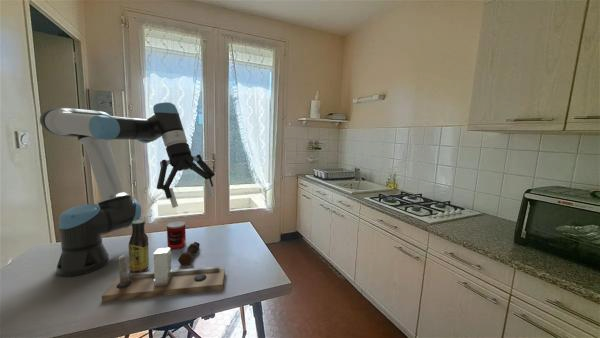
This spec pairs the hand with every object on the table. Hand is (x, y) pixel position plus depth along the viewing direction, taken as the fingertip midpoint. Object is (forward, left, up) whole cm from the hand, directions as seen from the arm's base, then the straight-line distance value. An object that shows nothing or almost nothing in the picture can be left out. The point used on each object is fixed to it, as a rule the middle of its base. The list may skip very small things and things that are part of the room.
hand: (194, 201), depth 86 cm
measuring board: (-8, -4, -29) cm, 31 cm away
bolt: (-5, +17, -30) cm, 34 cm away
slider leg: (-10, -4, -27) cm, 29 cm away
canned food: (-14, +28, -29) cm, 43 cm away
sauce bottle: (-22, +8, -29) cm, 37 cm away
